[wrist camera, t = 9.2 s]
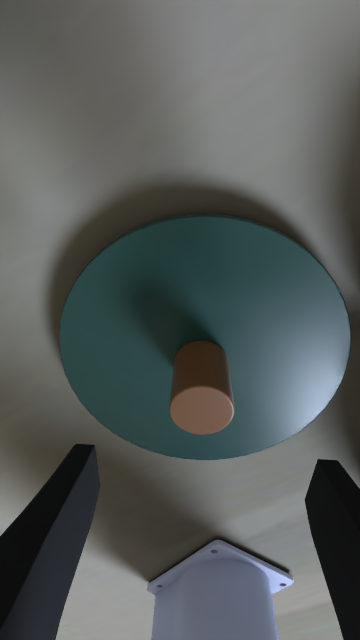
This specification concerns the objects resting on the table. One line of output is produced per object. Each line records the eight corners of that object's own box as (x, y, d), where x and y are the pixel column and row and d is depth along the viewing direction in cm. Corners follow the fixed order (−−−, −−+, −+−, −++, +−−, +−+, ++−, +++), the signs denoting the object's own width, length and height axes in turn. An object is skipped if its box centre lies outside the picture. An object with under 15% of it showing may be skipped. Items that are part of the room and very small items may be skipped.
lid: (218, 475, 22) (222, 548, 18) (22, 366, 18) (-25, 428, 14) (404, 331, 16) (469, 392, 12) (171, 134, 13) (158, 132, 9)
